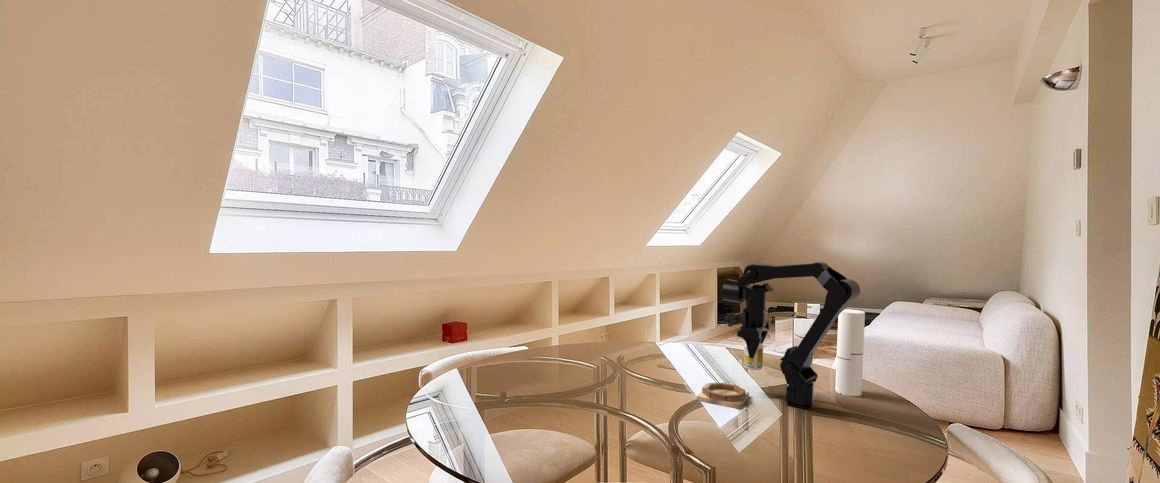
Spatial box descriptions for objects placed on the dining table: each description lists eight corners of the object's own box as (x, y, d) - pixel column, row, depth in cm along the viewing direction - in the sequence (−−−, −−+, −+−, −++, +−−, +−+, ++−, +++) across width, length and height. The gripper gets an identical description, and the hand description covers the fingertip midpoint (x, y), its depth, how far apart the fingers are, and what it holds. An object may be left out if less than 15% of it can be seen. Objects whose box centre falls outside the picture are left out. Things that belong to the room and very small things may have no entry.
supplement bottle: (759, 365, 159) (761, 334, 159) (764, 370, 154) (765, 338, 153) (741, 364, 159) (743, 333, 159) (745, 369, 154) (747, 337, 154)
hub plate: (749, 396, 152) (749, 387, 152) (739, 408, 142) (739, 399, 142) (709, 388, 159) (709, 380, 158) (696, 400, 148) (697, 391, 148)
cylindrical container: (864, 397, 154) (868, 314, 153) (839, 395, 155) (842, 312, 154) (857, 389, 161) (860, 309, 160) (832, 387, 162) (835, 308, 161)
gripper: (736, 298, 168) (734, 345, 168) (720, 306, 152) (718, 358, 152) (771, 302, 162) (770, 351, 163) (759, 310, 146) (757, 364, 147)
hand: (753, 356), depth 156 cm, fingers closed on supplement bottle, 5 cm apart
